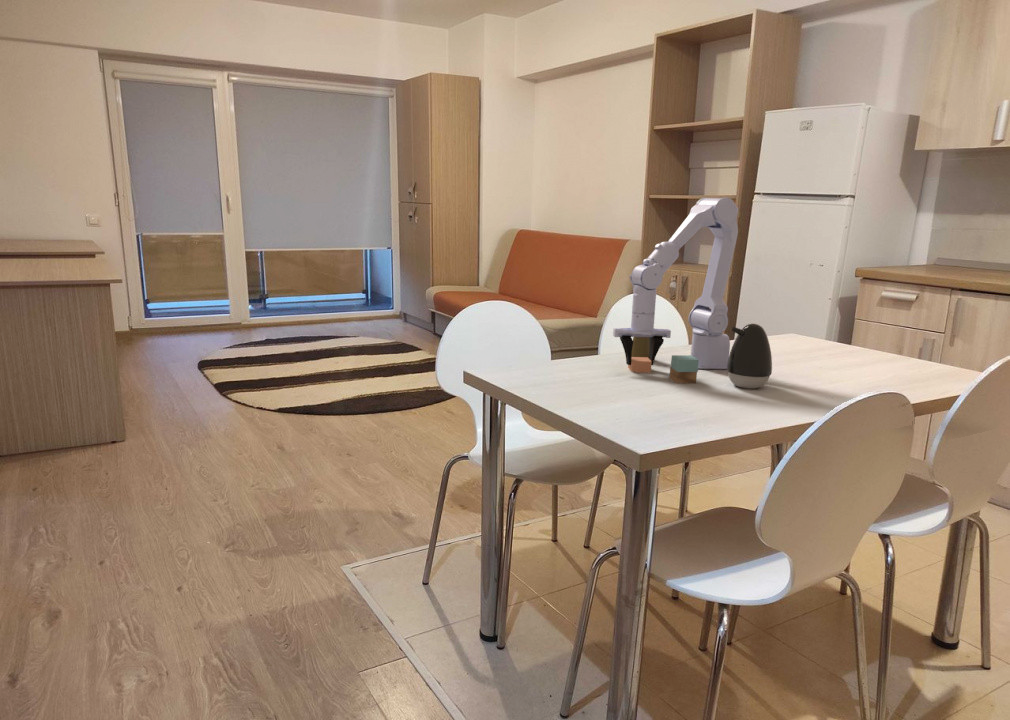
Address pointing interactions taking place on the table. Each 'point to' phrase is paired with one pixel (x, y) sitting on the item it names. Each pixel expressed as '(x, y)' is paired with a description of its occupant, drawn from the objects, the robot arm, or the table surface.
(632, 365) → the orange block
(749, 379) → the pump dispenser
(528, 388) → the table surface
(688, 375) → the walnut slab
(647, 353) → the olive upright rounded piece
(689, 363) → the teal slab
